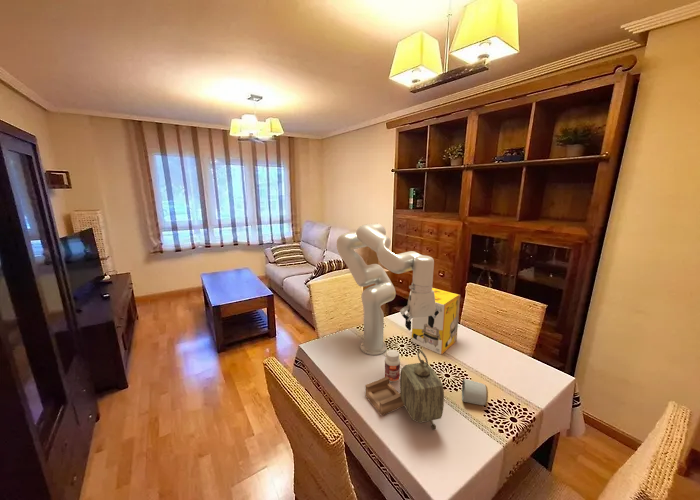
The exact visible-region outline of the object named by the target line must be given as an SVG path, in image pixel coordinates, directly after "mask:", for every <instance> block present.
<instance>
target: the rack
mask: <svg viewBox="0 0 700 500" xmlns="http://www.w3.org/2000/svg"><path fill="white" fill-rule="evenodd" d="M364 389H365V392H364V393H365V394H364V395H365V397H366V399H369V400H368V401H369V402H370V403H371V405H372V406H373V407H374V408H375V410H376V409H377V410H376V411H377V412H378V414H380V415H381V417H384V416H386V415H387V414H389V413H392V412H394V411H396V410H398V409H400V408H402V407H405V405H404V403H403V401H402V399H401V395H400V391H398V390H397V389H396V388H395V387H394V386H393V385H392V384H391V382H390V379H389V378H388V377H385V376H384V377H382V378H379V379H377V380H375V381H372V382H369V383H367V384H365V388H364Z"/></svg>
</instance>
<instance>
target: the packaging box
mask: <svg viewBox="0 0 700 500" xmlns="http://www.w3.org/2000/svg"><path fill="white" fill-rule="evenodd" d="M432 290H433V291H434V295H435V304H437V305H439V306H441V309H440V311H439V313H438V315H437V316H436V318H434V324H433V328H431V327H430V326H429V325H428V316H426V317H417V318H414V317H413V318H412V319H411V320H412V321H411V343H413V344H415V345H416V344H417V345H418V346H421V347H422V348H426V349H427V350H430V351H432V352H434V353H437V354H439V355H443V354H444V353H445V352H446V351H447V350H448V349H450V348H451V347H452V346H453V345H454V344H455V343H456V342H457V340H458V339H457V338H458V327H459V318H460V317H459V316H460V315H459V314H460V302H461V294H458V293H453V292H450V291H446V290H442V289H438V288H435V287H432ZM435 310H436V308H435Z"/></svg>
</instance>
